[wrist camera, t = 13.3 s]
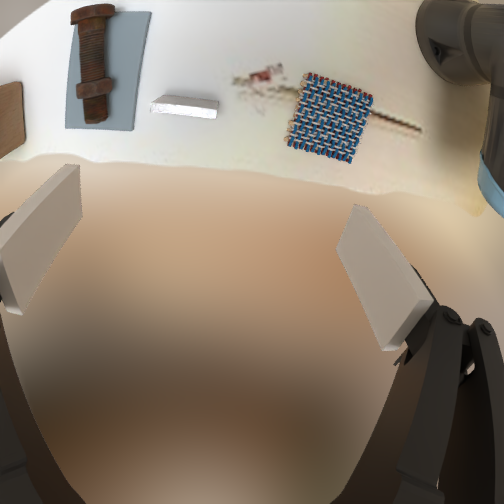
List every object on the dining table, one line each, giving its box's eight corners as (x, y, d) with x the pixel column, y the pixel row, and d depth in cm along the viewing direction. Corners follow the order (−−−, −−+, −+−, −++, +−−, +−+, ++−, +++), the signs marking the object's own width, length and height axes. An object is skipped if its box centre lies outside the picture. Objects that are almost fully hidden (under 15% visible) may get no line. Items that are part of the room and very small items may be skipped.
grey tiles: (249, -29, 24) (255, -46, 18) (217, 108, 35) (215, 119, 29) (192, -36, 23) (185, -54, 17) (162, 102, 34) (150, 111, 28)
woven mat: (373, 94, 35) (379, 96, 33) (349, 161, 41) (354, 166, 39) (302, 69, 33) (306, 70, 31) (281, 142, 39) (283, 147, 37)
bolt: (102, 115, 34) (98, 12, 25) (126, 116, 32) (124, 3, 23) (67, 128, 30) (60, 15, 20) (90, 129, 28) (84, 4, 19)
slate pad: (151, 12, 26) (149, 11, 25) (133, 129, 35) (131, 131, 34) (80, 15, 24) (76, 15, 23) (68, 126, 33) (65, 128, 32)
